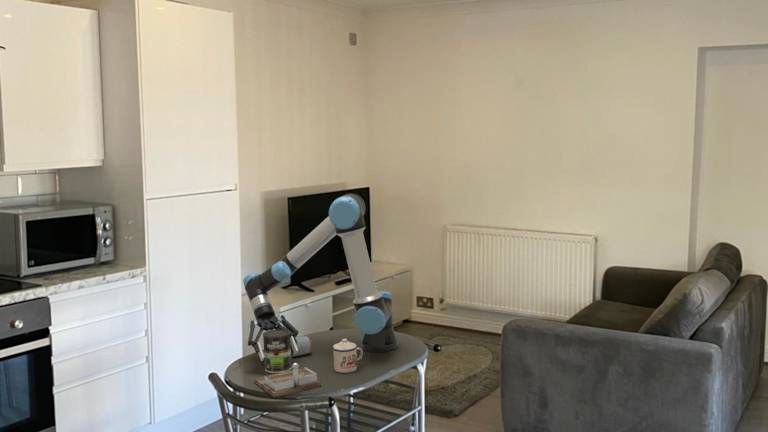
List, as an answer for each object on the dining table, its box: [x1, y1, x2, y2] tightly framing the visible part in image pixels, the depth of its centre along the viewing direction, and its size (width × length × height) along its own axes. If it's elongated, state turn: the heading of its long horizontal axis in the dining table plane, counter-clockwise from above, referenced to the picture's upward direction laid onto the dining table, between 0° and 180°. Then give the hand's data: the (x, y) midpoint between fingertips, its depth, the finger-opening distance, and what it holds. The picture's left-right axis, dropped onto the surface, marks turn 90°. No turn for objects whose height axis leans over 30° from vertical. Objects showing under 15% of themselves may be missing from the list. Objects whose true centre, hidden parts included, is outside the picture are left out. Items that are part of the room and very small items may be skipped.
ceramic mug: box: [290, 335, 313, 358], centre depth 309 cm, size 11×8×8 cm
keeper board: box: [254, 368, 322, 398], centre depth 275 cm, size 18×18×2 cm
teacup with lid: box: [332, 338, 364, 374], centre depth 289 cm, size 12×9×12 cm
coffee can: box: [262, 329, 293, 374], centre depth 291 cm, size 10×10×14 cm
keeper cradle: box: [264, 362, 318, 392], centre depth 271 cm, size 10×16×9 cm, turn 120°
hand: (279, 355), depth 290 cm, fingers open, 13 cm apart
